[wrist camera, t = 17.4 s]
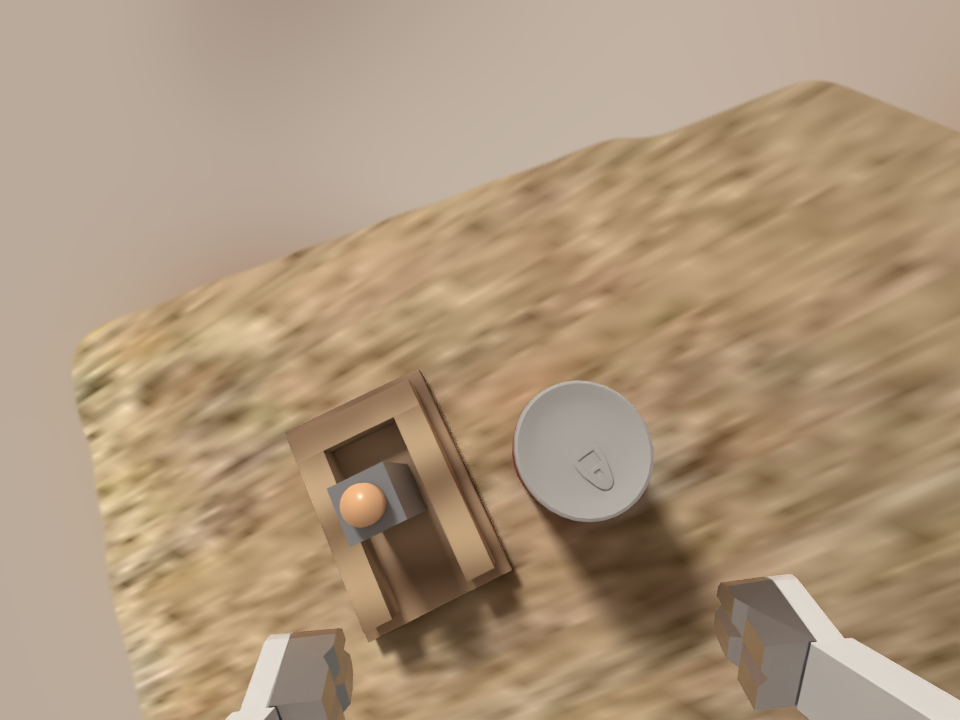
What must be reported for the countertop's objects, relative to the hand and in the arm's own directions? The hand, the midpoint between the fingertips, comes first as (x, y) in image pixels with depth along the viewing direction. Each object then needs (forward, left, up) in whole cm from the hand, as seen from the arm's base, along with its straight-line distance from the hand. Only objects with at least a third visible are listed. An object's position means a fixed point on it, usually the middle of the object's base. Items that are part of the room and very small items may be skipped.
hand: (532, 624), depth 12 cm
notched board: (+8, +4, -29) cm, 30 cm away
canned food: (0, -6, -29) cm, 29 cm away
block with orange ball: (+8, +4, -27) cm, 28 cm away
